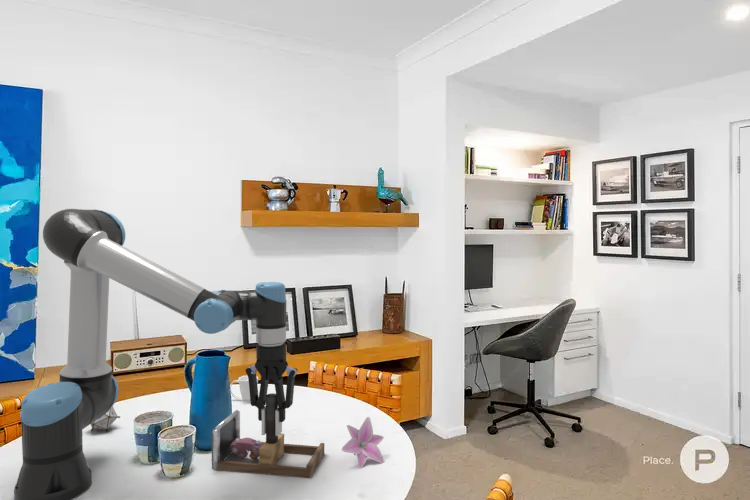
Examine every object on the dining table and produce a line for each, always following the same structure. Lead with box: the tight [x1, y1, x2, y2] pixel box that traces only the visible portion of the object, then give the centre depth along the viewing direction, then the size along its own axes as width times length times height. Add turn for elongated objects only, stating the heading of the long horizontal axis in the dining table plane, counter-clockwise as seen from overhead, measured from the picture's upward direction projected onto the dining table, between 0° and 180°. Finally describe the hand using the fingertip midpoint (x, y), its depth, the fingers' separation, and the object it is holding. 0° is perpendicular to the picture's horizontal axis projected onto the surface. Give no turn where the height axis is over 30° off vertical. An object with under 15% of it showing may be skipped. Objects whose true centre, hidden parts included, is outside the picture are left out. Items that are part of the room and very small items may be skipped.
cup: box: [230, 374, 259, 404], centre depth 177 cm, size 7×10×8 cm
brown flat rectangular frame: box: [217, 441, 325, 479], centre depth 132 cm, size 13×24×3 cm, turn 81°
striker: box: [258, 392, 285, 465], centre depth 131 cm, size 10×3×17 cm, turn 171°
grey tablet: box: [210, 409, 241, 471], centre depth 133 cm, size 14×2×11 cm, turn 171°
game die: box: [90, 405, 121, 433], centre depth 152 cm, size 9×8×10 cm
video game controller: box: [229, 437, 264, 461], centre depth 133 cm, size 10×5×7 cm, turn 76°
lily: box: [341, 416, 385, 469], centre depth 133 cm, size 12×12×10 cm
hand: (271, 433), depth 131 cm, fingers closed on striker, 3 cm apart
